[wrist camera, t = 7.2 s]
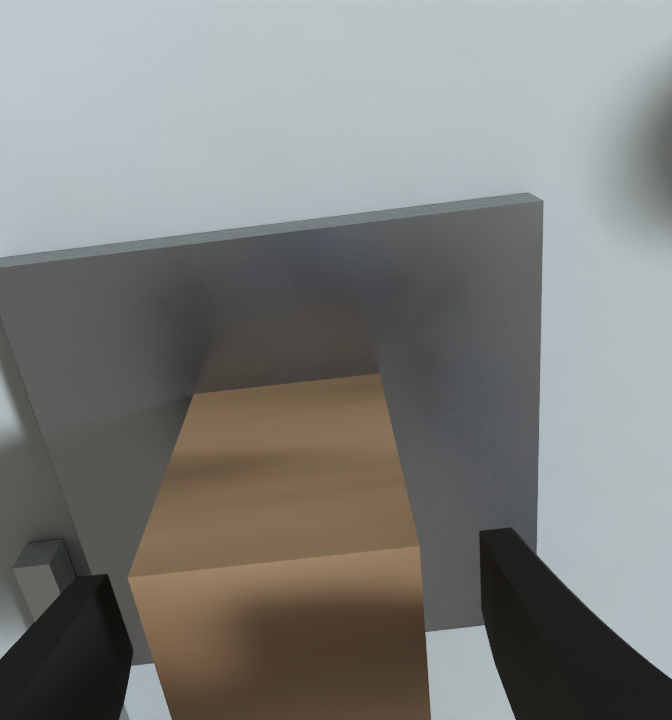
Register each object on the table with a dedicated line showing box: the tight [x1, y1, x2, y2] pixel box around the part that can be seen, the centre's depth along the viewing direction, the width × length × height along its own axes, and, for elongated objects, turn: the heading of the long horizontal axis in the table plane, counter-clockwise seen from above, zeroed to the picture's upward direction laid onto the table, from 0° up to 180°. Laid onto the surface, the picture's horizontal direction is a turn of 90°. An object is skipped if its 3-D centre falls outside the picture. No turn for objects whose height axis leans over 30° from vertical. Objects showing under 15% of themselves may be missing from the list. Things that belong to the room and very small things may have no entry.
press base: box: [0, 193, 543, 720], centre depth 18 cm, size 20×14×1 cm
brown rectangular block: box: [128, 373, 431, 720], centre depth 13 cm, size 6×4×6 cm
